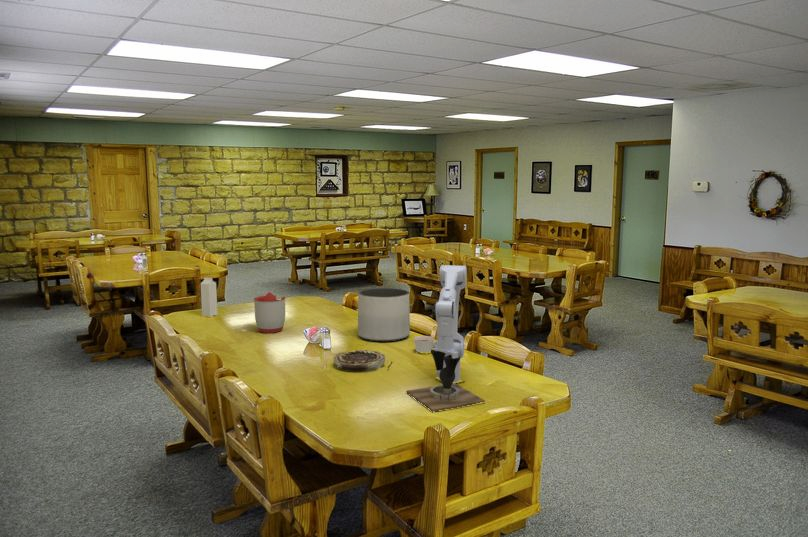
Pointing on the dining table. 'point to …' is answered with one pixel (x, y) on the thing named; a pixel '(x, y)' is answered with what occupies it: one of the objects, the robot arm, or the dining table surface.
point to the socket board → (436, 405)
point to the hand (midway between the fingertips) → (444, 373)
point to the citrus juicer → (269, 313)
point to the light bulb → (446, 380)
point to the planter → (383, 314)
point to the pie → (359, 360)
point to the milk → (208, 297)
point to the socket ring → (444, 397)
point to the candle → (423, 343)
